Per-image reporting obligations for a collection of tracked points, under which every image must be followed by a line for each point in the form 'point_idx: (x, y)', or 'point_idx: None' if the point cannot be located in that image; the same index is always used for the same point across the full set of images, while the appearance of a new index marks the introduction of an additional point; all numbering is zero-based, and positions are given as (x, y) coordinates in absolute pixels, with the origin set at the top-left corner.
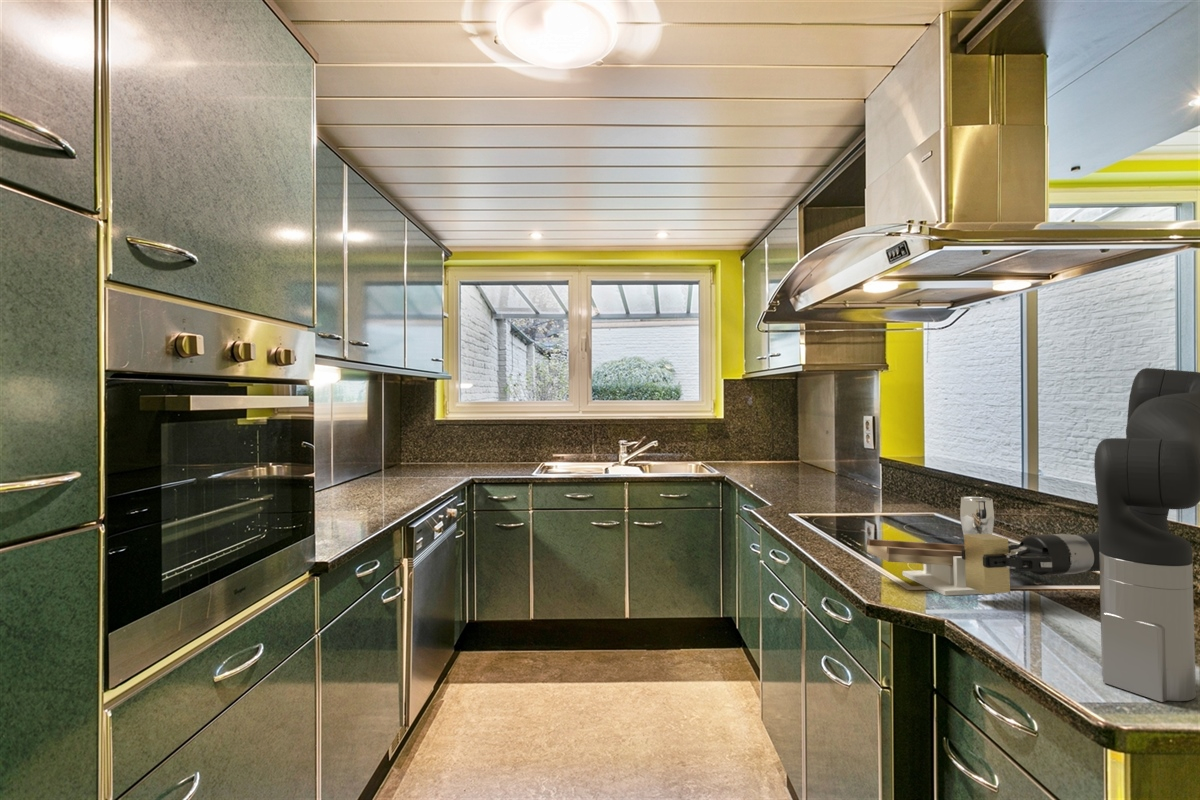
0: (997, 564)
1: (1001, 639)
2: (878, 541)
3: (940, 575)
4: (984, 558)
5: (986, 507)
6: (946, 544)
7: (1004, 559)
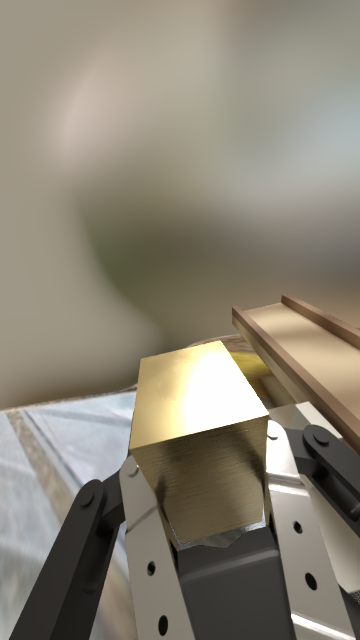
0: None
1: (74, 421)
2: (291, 301)
3: None
4: None
5: None
6: None
7: (129, 450)
